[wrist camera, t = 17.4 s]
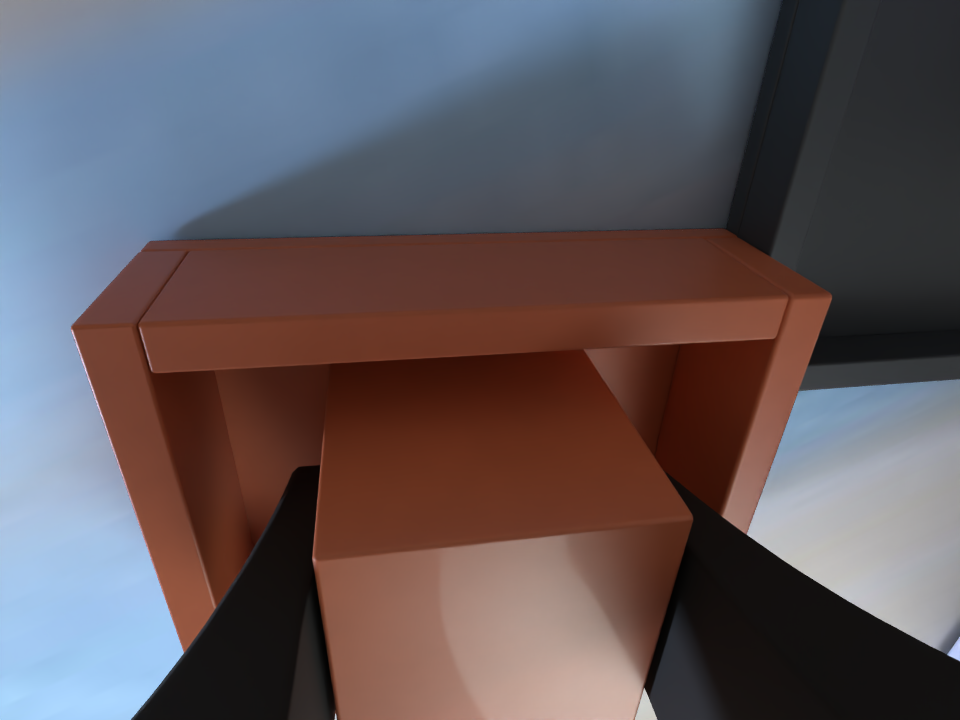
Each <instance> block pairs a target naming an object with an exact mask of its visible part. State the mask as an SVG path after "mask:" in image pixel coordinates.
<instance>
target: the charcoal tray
mask: <svg viewBox="0 0 960 720" xmlns="http://www.w3.org/2000/svg"><path fill="white" fill-rule="evenodd" d="M726 230H728V231H730V232H731V233H733V234H735V235H736V236H737V237H738V238H740V239H742V240H743V241H745V242H747V243H748V244H750V245H752V246H753V247H755V248H757V249H758V250H760V251H762V252H763V253H765V254H767V255H768V256H770V257H772V258H773V259H775V260H776V261H778V262H780V263H781V264H783V265H785V266H786V267H788V268H790V269H791V270H793V271H795V272H796V273H798V274H800V275H801V276H803V277H805V278H806V279H808V280H810V281H811V282H813V283H815V284H816V285H818V286H820V287H821V288H823V289H825V290H826V291H828V292H830V293H831V295H832V300H831V303H830V306H829V308H828V311H827V314H826V317H825V319H824V322H823V325H822V328H821V330H820V333H819V336H818V339H817V341H816V344H815V347H814V350H813V352H812V355H811V358H810V361H809V363H808V366H807V369H806V372H805V374H804V377H803V380H802V383H801V385H800V388H799V391H803V390H816V389H830V388H844V387H858V386H872V385H886V384H899V383H913V382H927V381H941V380H955V379H960V0H783V2H782V6H781V10H780V14H779V18H778V22H777V26H776V30H775V34H774V38H773V42H772V46H771V50H770V54H769V58H768V62H767V66H766V70H765V74H764V78H763V82H762V86H761V90H760V94H759V98H758V102H757V106H756V110H755V114H754V119H753V123H752V127H751V131H750V135H749V139H748V143H747V147H746V151H745V155H744V159H743V163H742V167H741V171H740V175H739V179H738V183H737V187H736V191H735V195H734V199H733V203H732V207H731V211H730V215H729V219H728V223H727V227H726Z"/></svg>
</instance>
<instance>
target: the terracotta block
mask: <svg viewBox="0 0 960 720" xmlns="http://www.w3.org/2000/svg"><path fill="white" fill-rule="evenodd" d="M692 523H693V516H692V513H691V512H690V510H689V509H688V507H687V506H686V504H685V503H684V501H683V500H682V498H681V497H680V495H679V494H678V492H677V491H676V489H675V488H674V486H673V484H672V483H671V481H670V480H669V478H668V477H667V475H666V474H665V472H664V471H663V469H662V468H661V466H660V465H659V463H658V462H657V460H656V459H655V457H654V456H653V454H652V453H651V451H650V450H649V448H648V447H647V445H646V443H645V442H644V440H643V439H642V437H641V436H640V434H639V433H638V431H637V430H636V428H635V427H634V425H633V424H632V422H631V421H630V419H629V418H628V416H627V415H626V413H625V412H624V410H623V409H622V407H621V406H620V404H619V402H618V401H617V399H616V398H615V396H614V395H613V393H612V392H611V390H610V389H609V387H608V386H607V384H606V383H605V381H604V380H603V378H602V377H601V375H600V374H599V372H598V371H597V369H596V368H595V366H594V364H593V363H592V361H591V360H590V358H589V357H588V355H587V354H586V352H585V351H584V349H582V350H564V351H546V352H529V353H511V354H493V355H475V356H457V357H439V358H421V359H403V360H385V361H368V362H350V363H332V364H329V375H328V386H327V397H326V409H325V420H324V431H323V443H322V454H321V465H320V477H319V488H318V499H317V511H316V522H315V533H314V545H313V556H312V560H313V566H314V573H315V579H316V586H317V592H318V599H319V605H320V612H321V618H322V624H323V631H324V637H325V644H326V650H327V657H328V663H329V670H330V676H331V683H332V689H333V696H334V702H335V709H336V715H337V720H635V717H636V713H637V710H638V706H639V703H640V700H641V696H642V693H643V689H644V686H645V683H646V679H647V676H648V672H649V669H650V666H651V662H652V659H653V655H654V652H655V649H656V645H657V642H658V638H659V635H660V632H661V628H662V625H663V621H664V618H665V615H666V611H667V608H668V604H669V601H670V597H671V594H672V591H673V587H674V584H675V580H676V577H677V574H678V570H679V567H680V563H681V560H682V557H683V553H684V550H685V546H686V543H687V540H688V536H689V533H690V529H691V526H692Z"/></svg>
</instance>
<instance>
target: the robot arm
mask: <svg viewBox="0 0 960 720" xmlns="http://www.w3.org/2000/svg"><path fill="white" fill-rule="evenodd" d="M663 471H664V470H663ZM664 472H665V471H664ZM665 474H666V475H667V477H668V478H669V480H670V481H671V483H672V484H673V486H674V488H675V489H676V491H677V492H678V494H679V495H680V497H681V498H682V500H683V501H684V503H685V504H686V506H687V507H688V509H689V510H690V512H691V513H692V516H693V523H692V526H691V529H690V533H689V536H688V540H687V543H686V546H685V550H684V553H683V557H682V560H681V563H680V567H679V570H678V574H677V577H676V580H675V584H674V587H673V591H672V594H671V597H670V601H669V604H668V608H667V611H666V615H665V618H664V621H663V625H662V628H661V632H660V635H659V638H658V642H657V645H656V649H655V652H654V655H653V659H652V662H651V666H650V669H649V672H648V676H647V679H646V683H645V686H644V688H645V690H646V692H647V695H648V697H649V699H650V702H651V704H652V707H653V709H654V712H655V714H656V717H657V719H658V720H960V637H959V638H958V640H957V641H956V643H955V644H954V645H953V647H952V648H951V650H950V651H949V653H948V654H945V653H943V652H941V651H939V650H937V649H935V648H933V647H931V646H929V645H927V644H925V643H923V642H921V641H919V640H917V639H915V638H914V637H912V636H910V635H908V634H906V633H904V632H902V631H901V630H899V629H897V628H895V627H893V626H891V625H889V624H888V623H886V622H884V621H882V620H880V619H878V618H876V617H875V616H873V615H871V614H869V613H868V612H866V611H864V610H862V609H861V608H859V607H857V606H855V605H854V604H852V603H850V602H849V601H847V600H845V599H844V598H842V597H840V596H839V595H837V594H835V593H834V592H832V591H831V590H829V589H827V588H826V587H824V586H822V585H821V584H819V583H818V582H816V581H814V580H813V579H811V578H810V577H808V576H806V575H805V574H803V573H801V572H800V571H798V570H797V569H795V568H794V567H792V566H791V565H789V564H788V563H786V562H785V561H783V560H782V559H780V558H779V557H777V556H776V555H775V554H773V553H772V552H770V551H769V550H767V549H766V548H765V547H763V546H762V545H760V544H759V543H758V542H756V541H755V540H753V539H752V538H750V537H749V536H748V535H746V534H745V533H743V532H742V531H741V530H739V529H738V528H737V527H735V526H734V525H733V524H731V523H730V522H729V521H727V520H726V519H725V518H723V517H722V516H721V515H719V514H718V513H717V512H715V511H714V510H713V509H712V508H710V507H709V506H708V505H706V504H705V503H704V502H703V501H701V500H700V499H699V498H698V497H696V496H695V495H694V494H693V493H691V492H690V491H689V490H688V489H686V488H685V487H684V486H683V485H681V484H680V483H679V482H678V481H676V480H675V479H674V478H673V477H672V476H670V475H669V474H668V473H667V472H665ZM319 477H320V465H313V466H301V467H298V468H297V469H296V470H295V471H293V472H292V474H291V477H290V479H289V482H288V484H287V486H286V488H285V490H284V493H283V495H282V497H281V499H280V501H279V503H278V505H277V507H276V509H275V511H274V513H273V515H272V516H271V518H270V520H269V522H268V524H267V526H266V528H265V529H264V531H263V533H262V535H261V536H260V538H259V540H258V542H257V543H256V545H255V547H254V548H253V550H252V552H251V554H250V555H249V557H248V559H247V560H246V562H245V564H244V565H243V567H242V569H241V570H240V572H239V574H238V575H237V577H236V578H235V580H234V581H233V583H232V584H231V586H230V588H229V589H228V591H227V592H226V594H225V595H224V597H223V598H222V600H221V601H220V603H219V604H218V606H217V607H216V609H215V610H214V612H213V613H212V615H211V616H210V618H209V619H208V621H207V622H206V624H205V625H204V626H203V628H202V629H201V631H200V632H199V633H198V635H197V636H196V638H195V639H194V640H193V642H192V643H191V644H190V646H189V647H188V649H187V650H186V651H185V653H184V654H183V655H182V657H181V658H180V659H179V661H178V662H177V663H176V665H175V666H174V667H173V668H172V670H171V671H170V672H169V674H168V675H167V676H166V677H165V679H164V680H163V681H162V683H161V684H160V685H159V686H158V688H157V689H156V690H155V691H154V693H153V694H152V695H151V696H150V698H149V699H148V700H147V701H146V702H145V704H144V705H143V706H142V707H141V708H140V710H139V711H138V712H137V713H136V714H135V716H134V717H133V718H132V719H131V720H334V719H335V710H336V709H335V702H334V696H333V689H332V683H331V676H330V670H329V663H328V657H327V650H326V644H325V637H324V631H323V624H322V618H321V612H320V605H319V599H318V592H317V586H316V579H315V573H314V566H313V560H312V556H313V545H314V533H315V522H316V511H317V499H318V488H319Z"/></svg>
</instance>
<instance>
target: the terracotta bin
mask: <svg viewBox="0 0 960 720" xmlns="http://www.w3.org/2000/svg"><path fill="white" fill-rule="evenodd" d="M831 300H832V295H831V293H830V292H828V291H826V290H825V289H823V288H821V287H820V286H818V285H816V284H815V283H813V282H811V281H810V280H808V279H806V278H805V277H803V276H801V275H800V274H798V273H796V272H795V271H793V270H791V269H790V268H788V267H786V266H785V265H783V264H781V263H780V262H778V261H776V260H775V259H773V258H772V257H770V256H768V255H767V254H765V253H763V252H762V251H760V250H758V249H757V248H755V247H753V246H752V245H750V244H748V243H747V242H745V241H743V240H742V239H740V238H738V237H737V236H736V235H735V234H733V233H731V232H730V231H728V230H726V229H724V228H717V229H672V230H626V231H580V232H534V233H488V234H442V235H396V236H350V237H304V238H258V239H213V240H167V241H150V242H148V243H147V244H146V246H145V247H144V248H143V249H142V250H141V252H139V253H138V254H137V255H136V256H135V257H134V258H133V259H132V260H131V261H130V262H129V264H128V265H127V266H126V267H125V268H124V269H123V270H122V271H121V272H120V273H119V274H118V276H117V277H116V278H115V279H114V280H113V281H112V282H111V283H110V284H109V285H108V286H107V288H106V289H105V290H104V291H103V292H102V293H101V294H100V295H99V296H98V297H97V299H96V300H95V301H94V302H93V303H92V304H91V305H90V306H89V307H88V308H87V309H86V311H85V312H84V313H83V314H82V315H81V316H80V317H79V318H78V319H77V320H76V321H75V323H74V324H73V325H72V326H71V332H72V334H73V337H74V340H75V343H76V346H77V349H78V352H79V354H80V357H81V360H82V363H83V366H84V369H85V371H86V374H87V377H88V380H89V383H90V386H91V389H92V391H93V394H94V397H95V400H96V403H97V406H98V409H99V411H100V414H101V417H102V420H103V423H104V426H105V429H106V431H107V434H108V437H109V440H110V443H111V446H112V449H113V451H114V454H115V457H116V460H117V463H118V466H119V468H120V471H121V474H122V477H123V480H124V483H125V486H126V488H127V491H128V494H129V497H130V500H131V503H132V506H133V508H134V511H135V514H136V517H137V520H138V523H139V526H140V528H141V531H142V534H143V537H144V540H145V543H146V546H147V548H148V551H149V554H150V557H151V560H152V563H153V565H154V568H155V571H156V574H157V577H158V580H159V583H160V585H161V588H162V591H163V594H164V597H165V600H166V603H167V605H168V608H169V611H170V614H171V617H172V620H173V623H174V625H175V628H176V631H177V634H178V637H179V640H180V643H181V645H182V648H183V651H184V653H185V651H186V650H187V649H188V647H189V646H190V644H191V643H192V642H193V640H194V639H195V638H196V636H197V635H198V633H199V632H200V631H201V629H202V628H203V626H204V625H205V624H206V622H207V621H208V619H209V618H210V616H211V615H212V613H213V612H214V610H215V609H216V607H217V606H218V604H219V603H220V601H221V600H222V598H223V597H224V595H225V594H226V592H227V591H228V589H229V588H230V586H231V584H232V583H233V581H234V580H235V578H236V577H237V575H238V574H239V572H240V570H241V569H242V567H243V565H244V564H245V562H246V560H247V559H248V557H249V555H250V554H251V552H252V550H253V548H254V547H255V545H256V543H257V542H258V540H259V538H260V536H261V535H262V533H263V531H264V529H265V528H266V526H267V524H268V522H269V520H270V518H271V516H272V515H273V513H274V511H275V509H276V507H277V505H278V503H279V501H280V499H281V497H282V495H283V493H284V490H285V488H286V486H287V484H288V482H289V479H290V477H291V474H292V472H293V471H295V470H296V469H297V468H298V467H301V466H313V465H321V454H322V443H323V431H324V420H325V409H326V397H327V386H328V375H329V364H332V363H350V362H368V361H385V360H403V359H421V358H439V357H457V356H475V355H493V354H511V353H529V352H546V351H564V350H582V349H584V351H585V352H586V354H587V355H588V357H589V358H590V360H591V361H592V363H593V364H594V366H595V368H596V369H597V371H598V372H599V374H600V375H601V377H602V378H603V380H604V381H605V383H606V384H607V386H608V387H609V389H610V390H611V392H612V393H613V395H614V396H615V398H616V399H617V401H618V402H619V404H620V406H621V407H622V409H623V410H624V412H625V413H626V415H627V416H628V418H629V419H630V421H631V422H632V424H633V425H634V427H635V428H636V430H637V431H638V433H639V434H640V436H641V437H642V439H643V440H644V442H645V443H646V445H647V447H648V448H649V450H650V451H651V453H652V454H653V456H654V457H655V459H656V460H657V462H658V463H659V465H660V466H661V468H662V469H663V470H664V471H665V472H667V473H668V474H669V475H670V476H672V477H673V478H674V479H675V480H676V481H678V482H679V483H680V484H681V485H683V486H684V487H685V488H686V489H688V490H689V491H690V492H691V493H693V494H694V495H695V496H696V497H698V498H699V499H700V500H701V501H703V502H704V503H705V504H706V505H708V506H709V507H710V508H712V509H713V510H714V511H715V512H717V513H718V514H719V515H721V516H722V517H723V518H725V519H726V520H727V521H729V522H730V523H731V524H733V525H734V526H735V527H737V528H738V529H739V530H741V531H742V532H743V533H745V534H747V532H748V529H749V526H750V523H751V521H752V518H753V515H754V512H755V510H756V507H757V504H758V501H759V498H760V496H761V493H762V490H763V487H764V485H765V482H766V479H767V476H768V474H769V471H770V468H771V465H772V463H773V460H774V457H775V454H776V452H777V449H778V446H779V443H780V441H781V438H782V435H783V432H784V430H785V427H786V424H787V421H788V419H789V416H790V413H791V410H792V408H793V405H794V402H795V399H796V396H797V394H798V391H799V388H800V385H801V383H802V380H803V377H804V374H805V372H806V369H807V366H808V363H809V361H810V358H811V355H812V352H813V350H814V347H815V344H816V341H817V339H818V336H819V333H820V330H821V328H822V325H823V322H824V319H825V317H826V314H827V311H828V308H829V306H830V303H831ZM335 714H336V710H335Z"/></svg>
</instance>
